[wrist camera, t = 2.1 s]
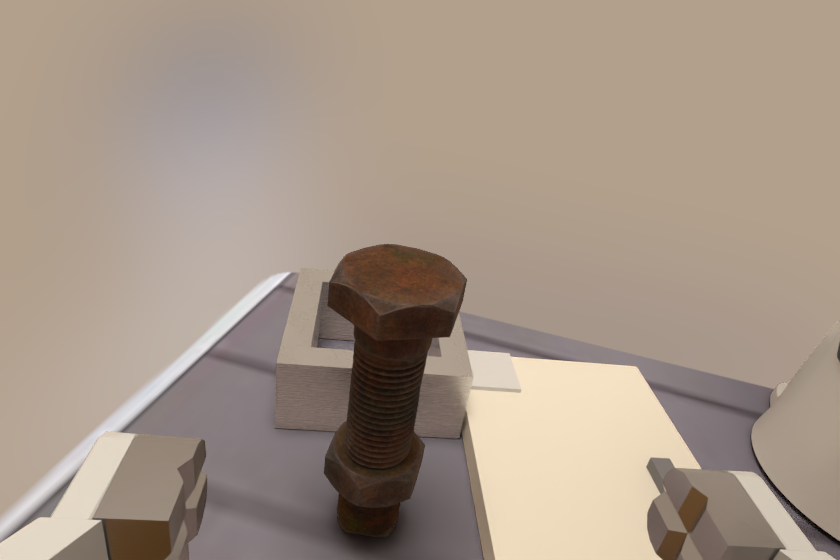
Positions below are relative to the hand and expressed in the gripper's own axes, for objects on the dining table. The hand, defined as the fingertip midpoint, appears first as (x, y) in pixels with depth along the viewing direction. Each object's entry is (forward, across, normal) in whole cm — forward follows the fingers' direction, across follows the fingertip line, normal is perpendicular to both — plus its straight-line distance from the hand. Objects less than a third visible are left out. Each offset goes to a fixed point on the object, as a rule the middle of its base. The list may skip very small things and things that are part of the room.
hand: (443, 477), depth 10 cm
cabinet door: (+15, -13, +18) cm, 27 cm away
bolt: (+13, 0, +18) cm, 22 cm away
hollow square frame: (+25, 0, +18) cm, 31 cm away
